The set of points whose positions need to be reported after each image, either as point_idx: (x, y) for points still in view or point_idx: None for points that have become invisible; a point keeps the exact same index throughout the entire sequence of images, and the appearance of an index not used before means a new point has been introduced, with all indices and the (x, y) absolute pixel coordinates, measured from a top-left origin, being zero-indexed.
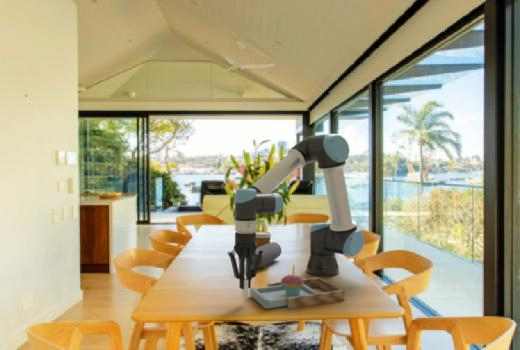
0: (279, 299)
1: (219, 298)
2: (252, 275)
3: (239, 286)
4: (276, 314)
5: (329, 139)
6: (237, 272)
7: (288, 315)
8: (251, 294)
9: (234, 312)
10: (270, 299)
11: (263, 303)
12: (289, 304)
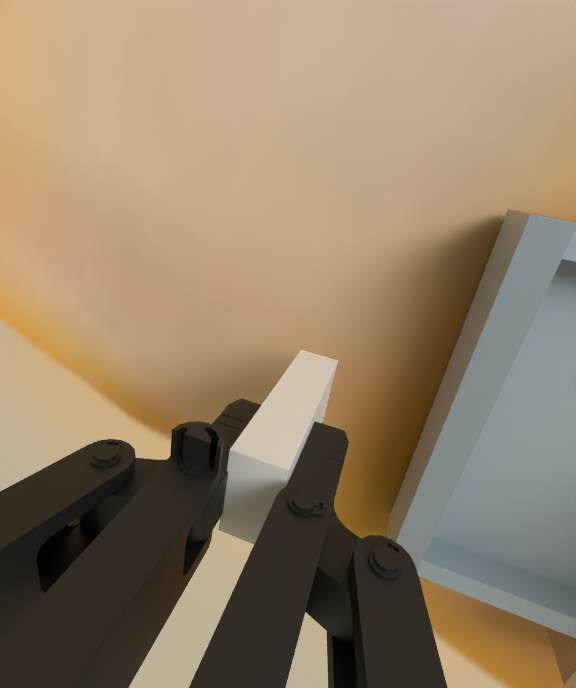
0: (513, 610)
1: (218, 87)
2: (330, 618)
3: (228, 406)
4: None
5: None
6: (38, 595)
7: (444, 640)
8: (496, 253)
9: (204, 416)
10: (526, 483)
11: (397, 510)
12: (553, 636)
